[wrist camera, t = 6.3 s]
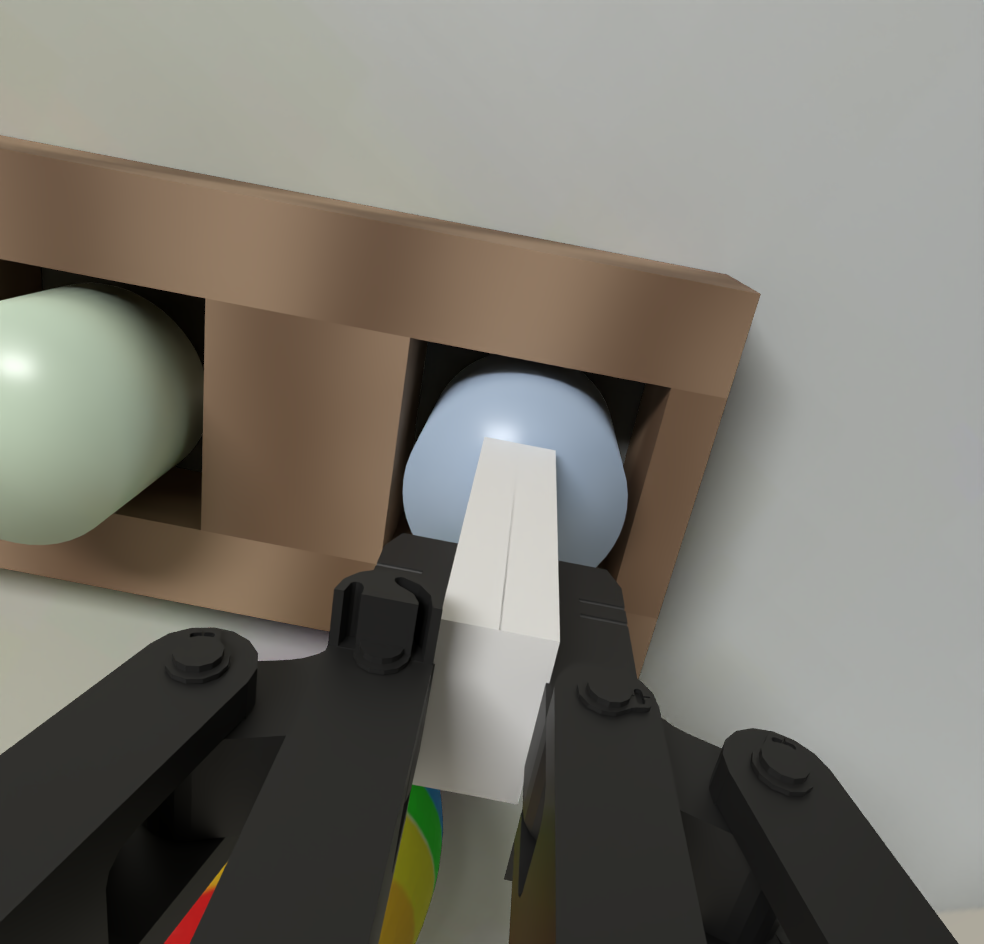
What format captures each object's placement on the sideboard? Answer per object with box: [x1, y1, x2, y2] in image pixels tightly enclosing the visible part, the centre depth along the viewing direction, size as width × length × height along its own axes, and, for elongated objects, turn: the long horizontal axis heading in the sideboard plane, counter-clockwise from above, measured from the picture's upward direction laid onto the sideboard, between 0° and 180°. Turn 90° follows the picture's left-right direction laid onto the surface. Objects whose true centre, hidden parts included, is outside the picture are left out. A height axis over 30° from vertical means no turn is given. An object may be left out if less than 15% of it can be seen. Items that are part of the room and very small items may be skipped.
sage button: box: [0, 283, 204, 545], centre depth 16 cm, size 5×5×4 cm
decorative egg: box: [164, 784, 443, 944], centre depth 19 cm, size 8×8×10 cm
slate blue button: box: [403, 354, 628, 568], centre depth 17 cm, size 5×5×4 cm
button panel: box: [0, 135, 761, 679], centre depth 18 cm, size 28×10×3 cm, turn 80°
